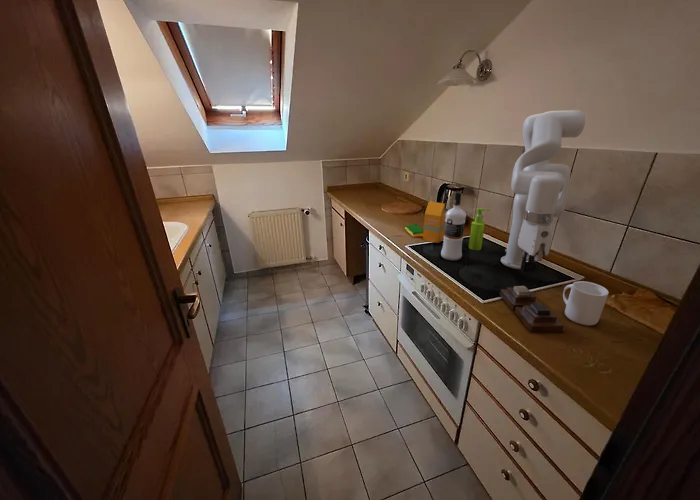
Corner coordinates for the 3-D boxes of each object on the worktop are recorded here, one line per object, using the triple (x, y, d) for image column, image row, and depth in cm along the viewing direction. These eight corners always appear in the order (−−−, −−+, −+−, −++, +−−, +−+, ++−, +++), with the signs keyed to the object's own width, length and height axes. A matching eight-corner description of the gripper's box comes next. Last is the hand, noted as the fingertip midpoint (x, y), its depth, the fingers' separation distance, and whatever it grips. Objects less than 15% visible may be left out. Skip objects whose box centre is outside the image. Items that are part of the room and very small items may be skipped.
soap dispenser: (485, 250, 143) (491, 210, 135) (470, 250, 144) (475, 210, 136) (480, 245, 149) (486, 206, 141) (466, 245, 149) (471, 206, 141)
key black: (530, 308, 92) (531, 304, 92) (542, 308, 92) (543, 303, 92) (536, 315, 89) (538, 310, 88) (549, 315, 89) (550, 310, 88)
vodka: (466, 258, 135) (474, 193, 124) (450, 262, 132) (457, 195, 120) (451, 251, 143) (458, 189, 131) (436, 255, 140) (442, 191, 128)
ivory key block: (499, 294, 107) (501, 284, 105) (524, 294, 107) (526, 284, 105) (512, 310, 98) (515, 300, 96) (540, 310, 97) (543, 299, 96)
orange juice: (429, 235, 164) (432, 199, 157) (444, 238, 159) (448, 202, 151) (422, 239, 159) (425, 202, 151) (438, 243, 154) (441, 205, 146)
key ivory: (513, 290, 102) (513, 286, 102) (523, 290, 102) (524, 285, 102) (518, 296, 99) (519, 291, 98) (529, 295, 99) (530, 291, 98)
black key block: (514, 312, 97) (516, 302, 95) (542, 312, 96) (545, 301, 95) (531, 332, 88) (533, 321, 86) (562, 331, 87) (565, 320, 86)
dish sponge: (416, 228, 176) (416, 224, 175) (425, 236, 163) (425, 232, 163) (404, 229, 175) (405, 225, 174) (413, 237, 162) (413, 233, 162)
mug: (570, 302, 101) (579, 274, 97) (605, 324, 90) (616, 293, 86) (548, 306, 99) (556, 277, 95) (581, 328, 88) (591, 297, 84)
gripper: (567, 224, 83) (551, 282, 90) (536, 210, 97) (525, 262, 104) (539, 224, 83) (526, 282, 90) (513, 211, 97) (503, 262, 104)
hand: (526, 271), depth 97 cm, fingers closed
